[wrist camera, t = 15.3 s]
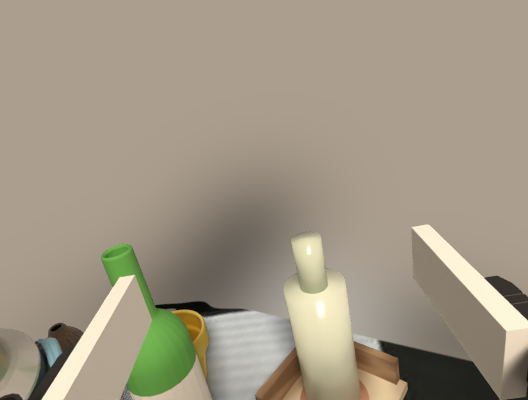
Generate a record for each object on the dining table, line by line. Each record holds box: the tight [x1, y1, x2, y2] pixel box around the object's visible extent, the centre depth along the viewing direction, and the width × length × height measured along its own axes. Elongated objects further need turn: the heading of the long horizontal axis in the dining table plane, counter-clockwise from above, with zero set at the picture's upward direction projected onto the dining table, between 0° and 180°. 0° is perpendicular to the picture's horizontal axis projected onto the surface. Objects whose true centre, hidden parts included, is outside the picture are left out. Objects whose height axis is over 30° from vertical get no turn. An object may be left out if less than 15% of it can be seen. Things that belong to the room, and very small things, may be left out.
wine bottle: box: [101, 244, 212, 400], centre depth 39 cm, size 8×8×30 cm
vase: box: [48, 323, 84, 352], centre depth 63 cm, size 7×7×9 cm
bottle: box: [284, 232, 361, 400], centre depth 42 cm, size 7×7×24 cm
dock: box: [255, 341, 408, 400], centre depth 46 cm, size 14×14×5 cm
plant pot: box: [172, 310, 209, 380], centre depth 54 cm, size 10×10×10 cm
